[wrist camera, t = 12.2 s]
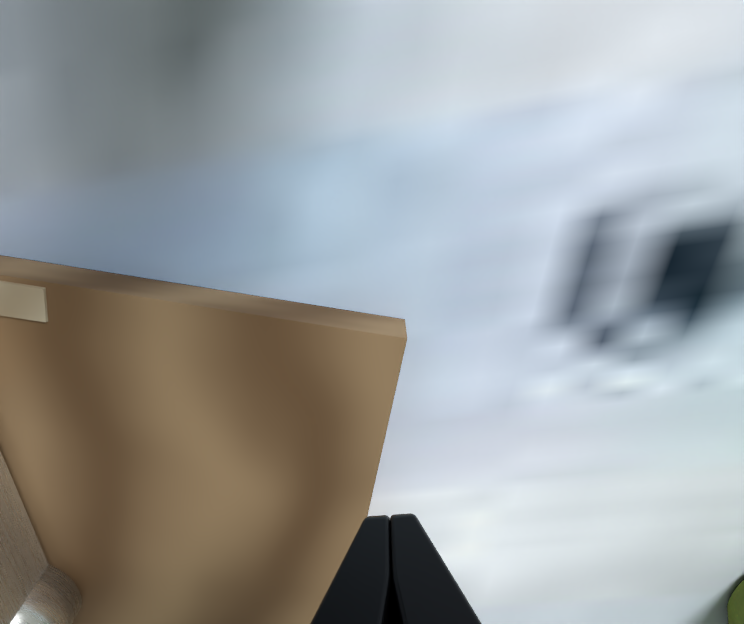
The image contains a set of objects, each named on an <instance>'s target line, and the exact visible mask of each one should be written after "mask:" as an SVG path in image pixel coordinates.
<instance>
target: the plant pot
mask: <svg viewBox="0 0 744 624" xmlns="http://www.w3.org/2000/svg"><path fill="white" fill-rule="evenodd" d="M727 610H728V624H744V580H743V581H742V582H741V583H740V584H739V585H738V586H737V587H736V589H735V590H734V592H733V593H732V595H731V597H730V599H729V601H728V604H727Z"/></svg>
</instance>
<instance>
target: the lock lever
mask: <svg viewBox="0 0 744 624" xmlns="http://www.w3.org/2000/svg"><path fill="white" fill-rule="evenodd" d="M81 602H82V599H81V594H80V591H79V589H78V587H77V586H76V584H75V583H74V582H73V580H72V579H71V578H70V577H69V576H67V575H66V574H65V573H63V572H62V571H61V570H59V569H57V568H55V567H53V566H51V565H49V564H48V562H47V559H46V557H45V554H44V552H43V550H42V547H41V545H40V543H39V540H38V538H37V536H36V533H35V531H34V529H33V526H32V524H31V522H30V519H29V517H28V515H27V512H26V510H25V507H24V505H23V503H22V500H21V498H20V496H19V493H18V491H17V489H16V486H15V484H14V482H13V479H12V477H11V475H10V472H9V470H8V468H7V465H6V463H5V461H4V458H3V456H2V453H1V451H0V624H72V623H73V621H74V619H75V617H76V615H77V614H78V612H79V610H80V607H81Z"/></svg>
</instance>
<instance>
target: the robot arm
mask: <svg viewBox="0 0 744 624" xmlns="http://www.w3.org/2000/svg"><path fill="white" fill-rule="evenodd" d="M310 624H481V622H480V620H479V619H478V617H477V615H476V614H475V612H474V611H473V609H472V607H471V606H470V604H469V602H468V601H467V599H466V597H465V596H464V594H463V592H462V591H461V589H460V588H459V586H458V584H457V583H456V581H455V579H454V578H453V576H452V574H451V573H450V571H449V570H448V568H447V566H446V565H445V563H444V561H443V560H442V558H441V556H440V555H439V553H438V551H437V550H436V548H435V547H434V545H433V543H432V542H431V540H430V538H429V537H428V535H427V533H426V532H425V530H424V528H423V527H422V525H421V524H420V522H419V520H418V519H417V517H416V516H415V515H414V514H397V515H392V516H391V518H389V517H388V516H386V515H383V516H369V517H366V518H365V519H364V520H363V522H362V524H361V526H360V528H359V530H358V532H357V533H356V535H355V537H354V539H353V541H352V543H351V545H350V547H349V549H348V551H347V553H346V555H345V557H344V559H343V561H342V563H341V565H340V567H339V569H338V571H337V572H336V574H335V576H334V578H333V580H332V582H331V584H330V586H329V588H328V590H327V592H326V594H325V596H324V598H323V600H322V602H321V604H320V606H319V608H318V610H317V611H316V613H315V615H314V617H313V619H312V621H311V623H310Z"/></svg>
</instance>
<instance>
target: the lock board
mask: <svg viewBox="0 0 744 624" xmlns="http://www.w3.org/2000/svg"><path fill="white" fill-rule="evenodd" d="M406 341H407V334H406V326H405V319H398V318H392V317H386V316H379V315H373V314H367V313H360V312H354V311H348V310H342V309H335V308H329V307H323V306H316V305H310V304H304V303H297V302H291V301H285V300H279V299H272V298H266V297H260V296H253V295H247V294H241V293H234V292H228V291H222V290H216V289H209V288H203V287H197V286H190V285H184V284H178V283H171V282H165V281H159V280H153V279H146V278H140V277H134V276H127V275H121V274H115V273H109V272H102V271H96V270H90V269H83V268H77V267H71V266H64V265H58V264H52V263H46V262H39V261H33V260H27V259H20V258H14V257H8V256H1V255H0V451H1V453H2V456H3V458H4V461H5V463H6V465H7V468H8V470H9V472H10V475H11V477H12V479H13V482H14V484H15V486H16V489H17V491H18V493H19V496H20V498H21V500H22V503H23V505H24V507H25V510H26V512H27V515H28V517H29V519H30V522H31V524H32V526H33V529H34V531H35V533H36V536H37V538H38V540H39V543H40V545H41V547H42V550H43V552H44V554H45V557H46V559H47V562H48V564H49V565H51V566H53V567H55V568H57V569H59V570H61V571H62V572H63V573H65V574H66V575H67V576H69V577H70V578H71V579H72V580H73V582H74V583H75V584H76V586H77V587H78V589H79V591H80V594H81V599H82V602H81V607H80V610H79V612H78V614H77V615H76V617H75V619H74V621H73V623H72V624H310V623H311V621H312V619H313V617H314V615H315V613H316V611H317V610H318V608H319V606H320V604H321V602H322V600H323V598H324V596H325V594H326V592H327V590H328V588H329V586H330V584H331V582H332V580H333V578H334V576H335V574H336V572H337V571H338V569H339V567H340V565H341V563H342V561H343V559H344V557H345V555H346V553H347V551H348V549H349V547H350V545H351V543H352V541H353V539H354V537H355V535H356V533H357V532H358V530H359V528H360V526H361V524H362V522H363V520H364V519H365V518H366V517H367V515H368V510H369V506H370V501H371V497H372V492H373V488H374V483H375V479H376V475H377V470H378V466H379V461H380V457H381V452H382V448H383V443H384V439H385V435H386V430H387V426H388V421H389V417H390V412H391V408H392V403H393V399H394V394H395V390H396V386H397V381H398V377H399V372H400V368H401V363H402V359H403V354H404V350H405V346H406Z"/></svg>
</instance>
